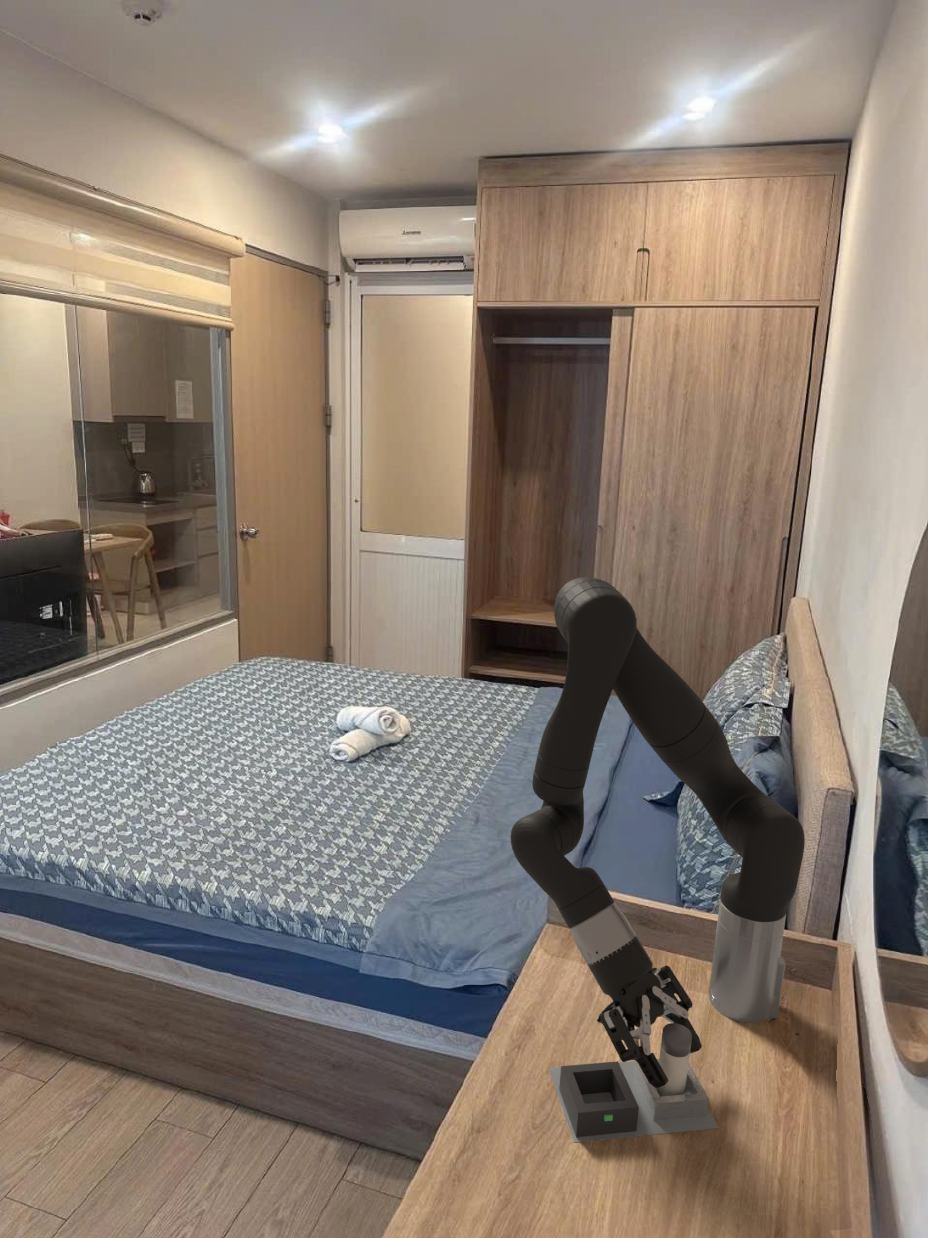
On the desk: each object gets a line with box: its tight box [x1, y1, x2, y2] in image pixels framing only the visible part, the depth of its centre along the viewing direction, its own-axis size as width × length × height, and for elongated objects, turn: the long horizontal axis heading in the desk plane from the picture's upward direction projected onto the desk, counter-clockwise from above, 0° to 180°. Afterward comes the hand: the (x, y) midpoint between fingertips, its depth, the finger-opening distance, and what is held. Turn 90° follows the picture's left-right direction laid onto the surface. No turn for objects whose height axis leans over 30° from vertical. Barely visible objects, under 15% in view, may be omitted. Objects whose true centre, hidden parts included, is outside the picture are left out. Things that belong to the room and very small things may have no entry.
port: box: [559, 1060, 639, 1137], centre depth 107 cm, size 8×8×4 cm
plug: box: [656, 1022, 692, 1097], centre depth 109 cm, size 4×4×10 cm
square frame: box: [634, 1060, 710, 1121], centre depth 110 cm, size 7×7×2 cm
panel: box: [548, 1058, 720, 1144], centre depth 110 cm, size 18×12×1 cm, turn 99°
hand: (679, 1067), depth 109 cm, fingers open, 8 cm apart
